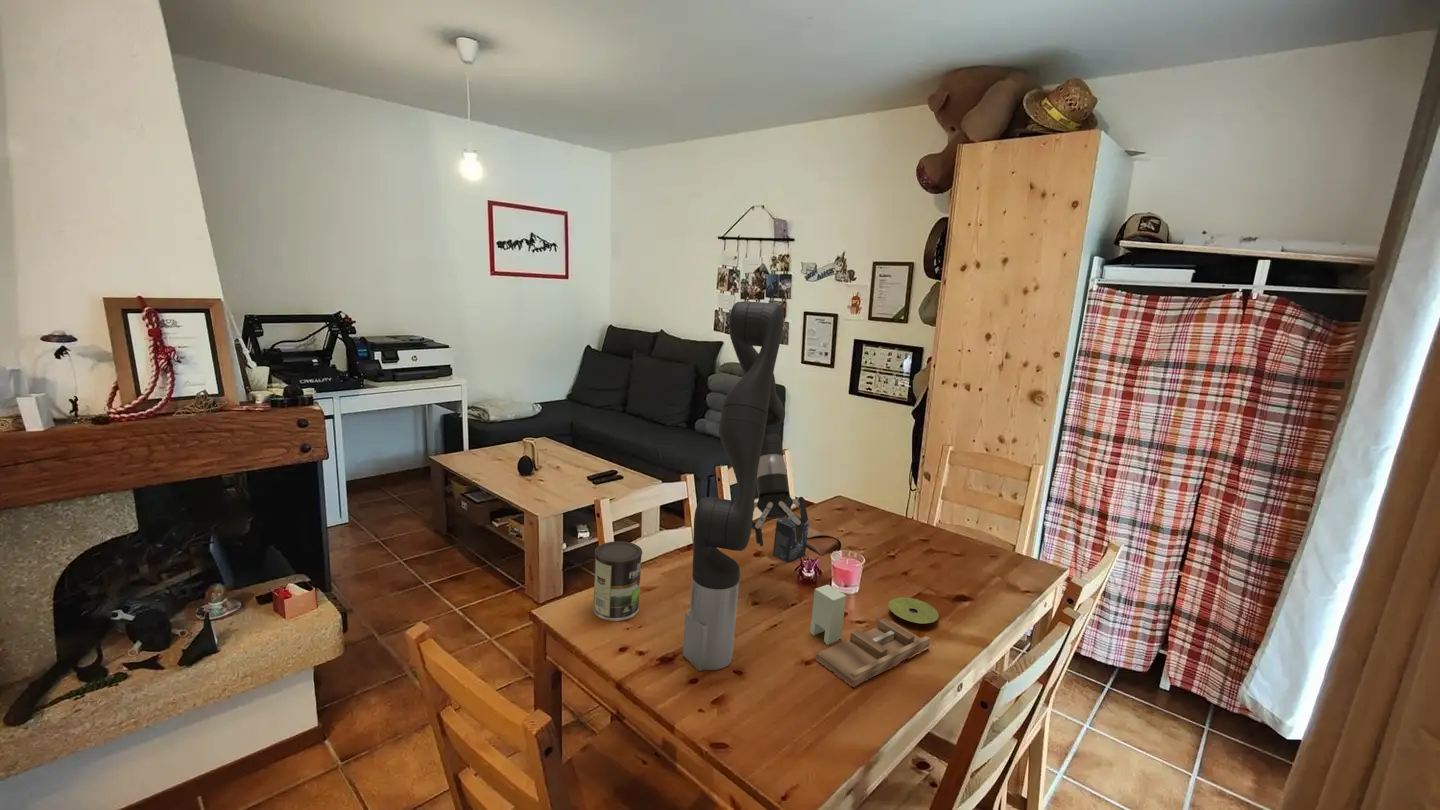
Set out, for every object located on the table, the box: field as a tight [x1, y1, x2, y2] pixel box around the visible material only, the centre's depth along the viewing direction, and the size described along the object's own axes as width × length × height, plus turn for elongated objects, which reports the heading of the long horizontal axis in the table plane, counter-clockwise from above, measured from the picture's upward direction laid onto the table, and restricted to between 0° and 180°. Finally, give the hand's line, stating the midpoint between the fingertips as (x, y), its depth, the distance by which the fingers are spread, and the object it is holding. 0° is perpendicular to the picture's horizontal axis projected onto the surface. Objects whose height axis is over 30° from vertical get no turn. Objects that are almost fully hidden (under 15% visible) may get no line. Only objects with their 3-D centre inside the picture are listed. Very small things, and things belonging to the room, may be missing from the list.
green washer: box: [888, 597, 939, 625], centre depth 143 cm, size 11×11×2 cm
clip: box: [809, 584, 847, 646], centre depth 132 cm, size 4×5×10 cm
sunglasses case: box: [806, 525, 842, 557], centre depth 180 cm, size 18×7×7 cm, turn 43°
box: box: [772, 514, 810, 563], centre depth 169 cm, size 8×6×11 cm
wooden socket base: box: [815, 617, 931, 686], centre depth 127 cm, size 24×10×4 cm, turn 127°
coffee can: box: [592, 540, 643, 622], centre depth 136 cm, size 10×10×14 cm
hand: (779, 544), depth 141 cm, fingers open, 8 cm apart
